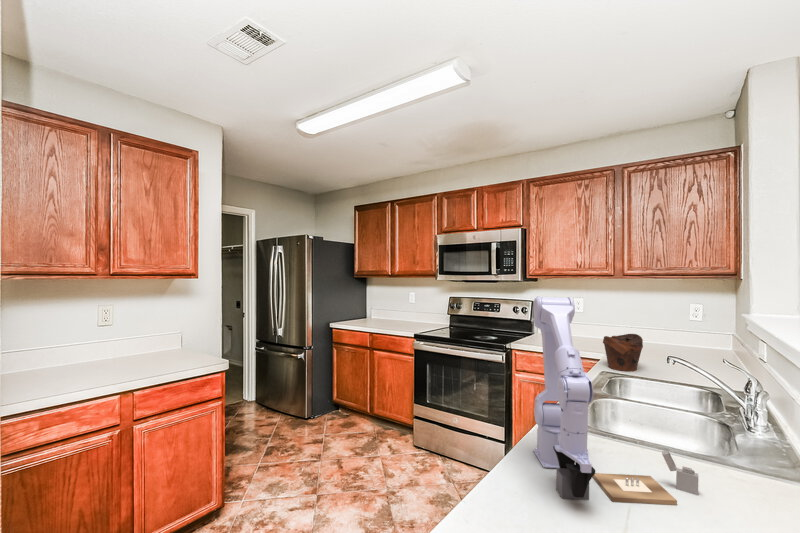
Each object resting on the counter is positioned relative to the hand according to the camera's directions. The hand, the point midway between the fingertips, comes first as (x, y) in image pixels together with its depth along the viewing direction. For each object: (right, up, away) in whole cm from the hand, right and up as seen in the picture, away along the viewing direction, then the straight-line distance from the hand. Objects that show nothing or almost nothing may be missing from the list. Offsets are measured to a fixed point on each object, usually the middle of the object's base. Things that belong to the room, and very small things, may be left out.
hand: (572, 487), depth 89 cm
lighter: (+27, -2, +4) cm, 28 cm away
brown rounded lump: (+76, -3, +112) cm, 135 cm away
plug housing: (0, -2, 0) cm, 2 cm away
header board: (+15, -2, +2) cm, 15 cm away
